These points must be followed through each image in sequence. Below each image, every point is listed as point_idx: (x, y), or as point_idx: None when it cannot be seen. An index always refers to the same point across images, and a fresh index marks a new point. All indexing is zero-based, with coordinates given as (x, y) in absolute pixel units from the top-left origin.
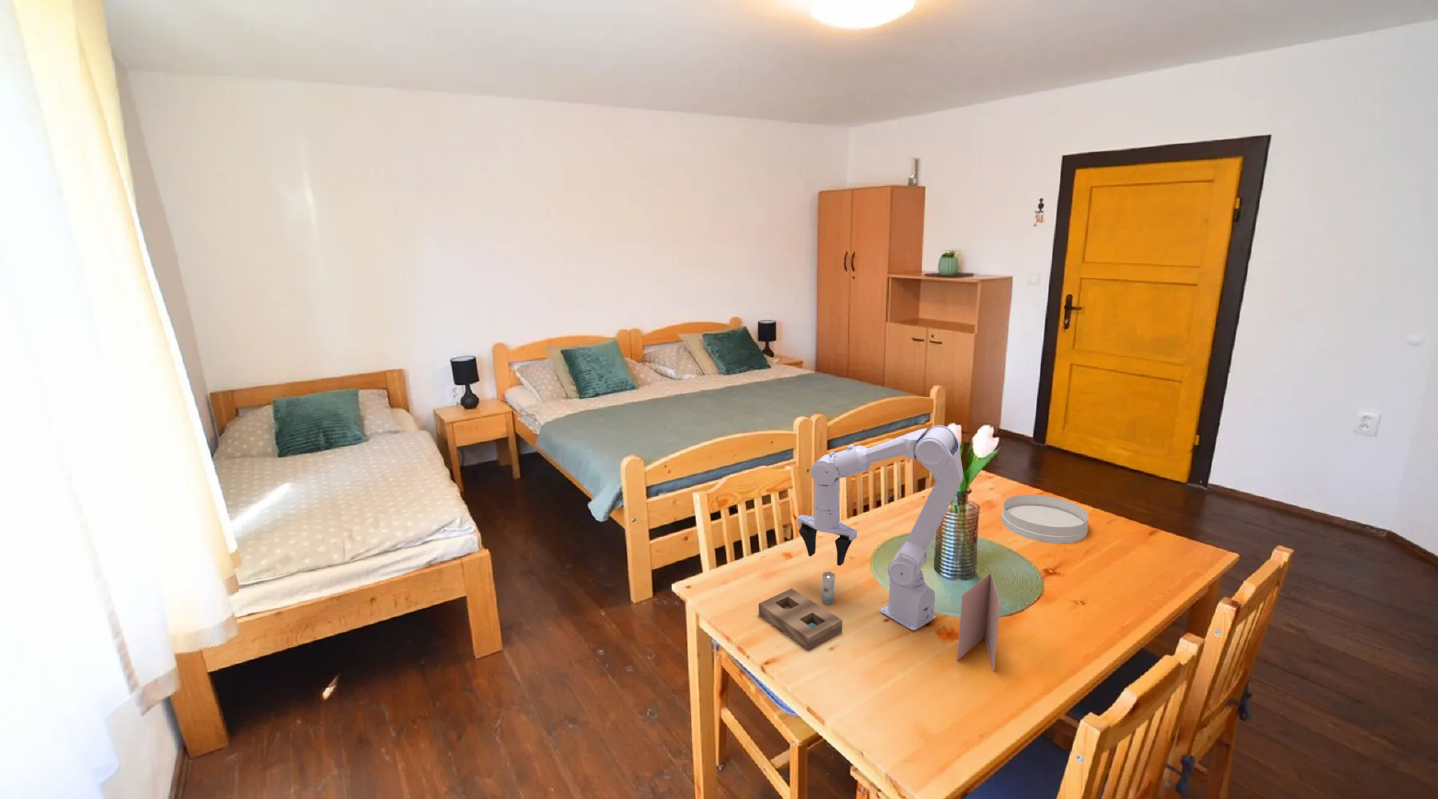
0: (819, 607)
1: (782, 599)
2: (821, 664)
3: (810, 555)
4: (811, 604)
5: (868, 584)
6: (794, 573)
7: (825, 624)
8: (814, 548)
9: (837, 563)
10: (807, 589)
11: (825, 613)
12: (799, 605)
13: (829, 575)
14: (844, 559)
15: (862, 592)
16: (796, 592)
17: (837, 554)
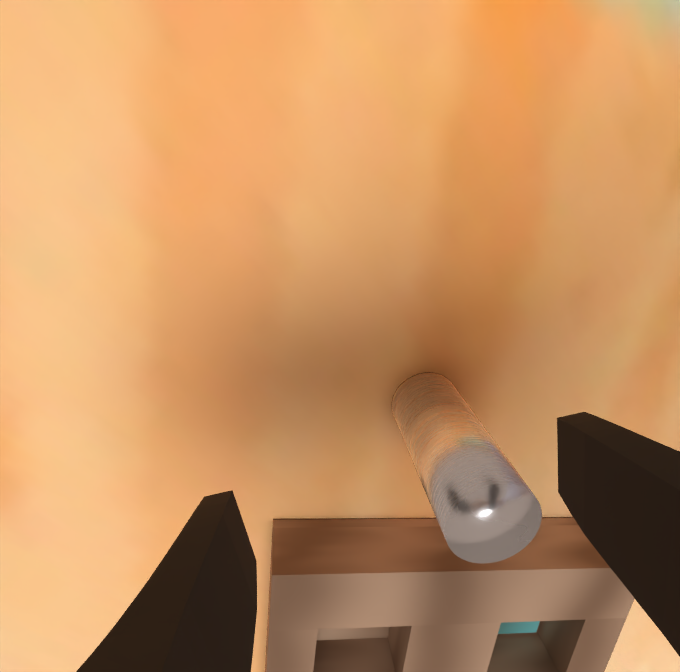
0: (504, 578)
1: (314, 654)
2: (624, 666)
3: (253, 576)
4: (457, 589)
5: (510, 45)
6: (51, 328)
7: (598, 634)
8: (226, 550)
9: (576, 513)
10: (258, 398)
11: (555, 587)
12: (417, 633)
13: (501, 523)
14: (612, 424)
15: (526, 173)
16: (323, 580)
17: (670, 634)
